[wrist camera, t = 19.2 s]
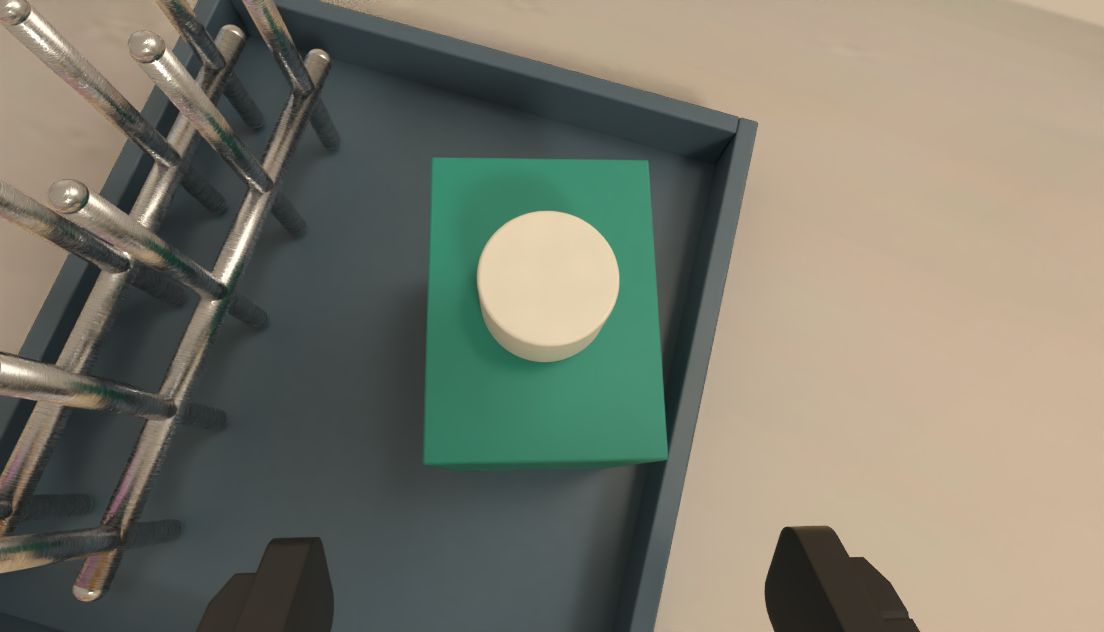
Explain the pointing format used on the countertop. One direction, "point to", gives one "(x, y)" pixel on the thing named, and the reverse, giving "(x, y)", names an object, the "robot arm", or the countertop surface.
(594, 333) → the detergent bottle
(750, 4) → the countertop surface
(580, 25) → the countertop surface
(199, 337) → the dish rack
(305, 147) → the drip tray
